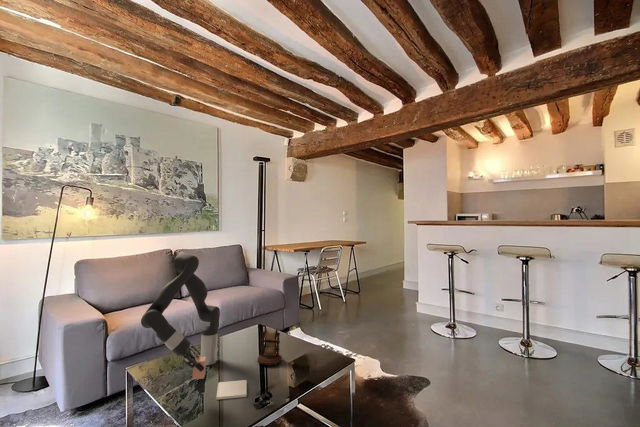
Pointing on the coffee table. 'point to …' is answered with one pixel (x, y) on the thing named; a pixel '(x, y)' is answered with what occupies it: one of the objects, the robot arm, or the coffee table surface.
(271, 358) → the brown piece
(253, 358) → the coffee table surface
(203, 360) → the terracotta block
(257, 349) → the coffee table surface
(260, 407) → the black chunky block
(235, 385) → the pad
